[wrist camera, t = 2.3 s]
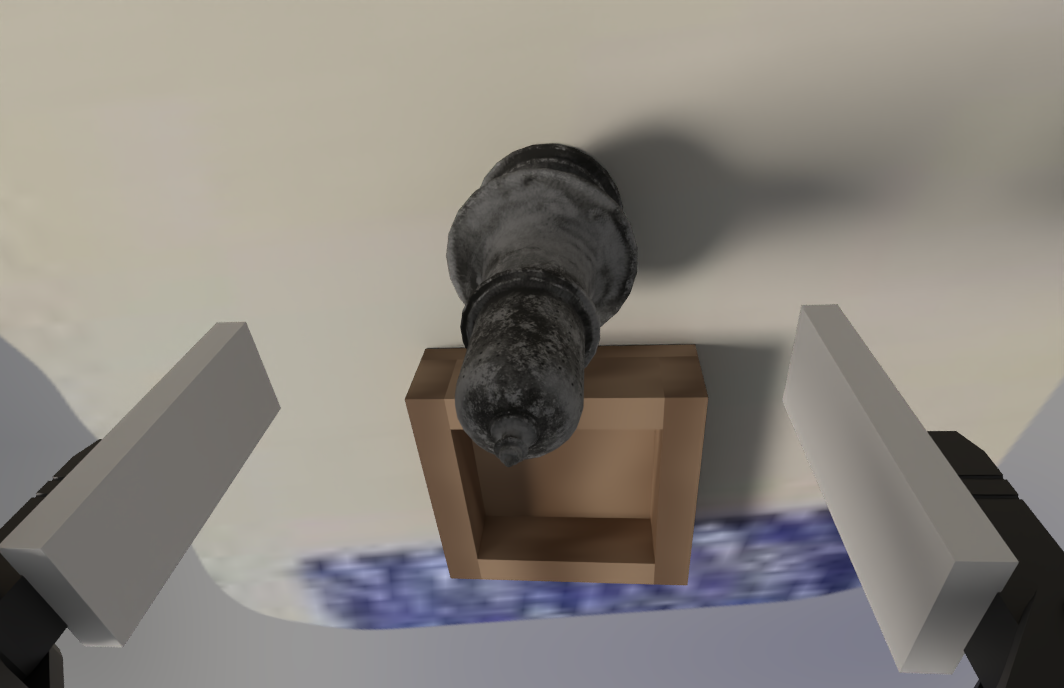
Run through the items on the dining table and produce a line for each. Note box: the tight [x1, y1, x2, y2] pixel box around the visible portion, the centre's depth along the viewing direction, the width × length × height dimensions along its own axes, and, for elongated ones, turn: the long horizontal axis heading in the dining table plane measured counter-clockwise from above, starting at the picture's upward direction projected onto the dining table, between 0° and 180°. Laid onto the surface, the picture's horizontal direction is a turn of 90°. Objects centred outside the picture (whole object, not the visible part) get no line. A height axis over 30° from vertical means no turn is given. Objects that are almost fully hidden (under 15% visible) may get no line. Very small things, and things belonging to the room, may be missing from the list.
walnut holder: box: [405, 344, 708, 585], centre depth 26 cm, size 11×11×3 cm
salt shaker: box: [446, 144, 637, 467], centre depth 16 cm, size 6×6×12 cm
